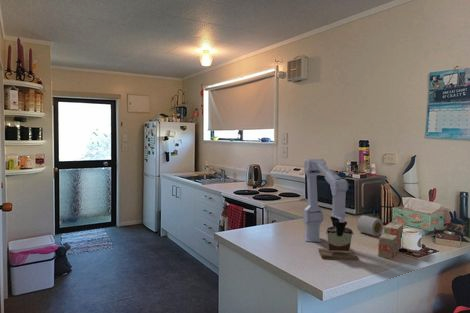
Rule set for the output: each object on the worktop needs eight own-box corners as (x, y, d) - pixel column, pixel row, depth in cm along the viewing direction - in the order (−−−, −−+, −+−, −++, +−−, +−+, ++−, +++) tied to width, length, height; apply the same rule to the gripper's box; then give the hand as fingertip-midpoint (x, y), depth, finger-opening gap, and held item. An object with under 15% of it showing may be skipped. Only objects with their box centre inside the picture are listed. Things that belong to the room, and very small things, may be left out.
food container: (349, 246, 161) (350, 226, 160) (352, 251, 155) (353, 230, 154) (323, 245, 162) (323, 225, 161) (325, 250, 156) (326, 229, 155)
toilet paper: (356, 233, 196) (357, 216, 195) (367, 230, 201) (368, 214, 201) (371, 237, 188) (372, 220, 187) (382, 235, 193) (383, 217, 192)
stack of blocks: (392, 259, 154) (393, 233, 153) (377, 256, 158) (378, 230, 157) (402, 247, 171) (403, 223, 170) (389, 245, 175) (390, 221, 174)
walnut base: (318, 251, 164) (318, 248, 164) (351, 252, 163) (351, 249, 162) (322, 258, 154) (322, 255, 154) (357, 260, 153) (357, 256, 152)
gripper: (351, 208, 149) (350, 238, 150) (343, 202, 164) (342, 229, 164) (335, 208, 150) (334, 238, 151) (329, 202, 164) (328, 229, 165)
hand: (337, 233), depth 158 cm, fingers closed on food container, 6 cm apart
